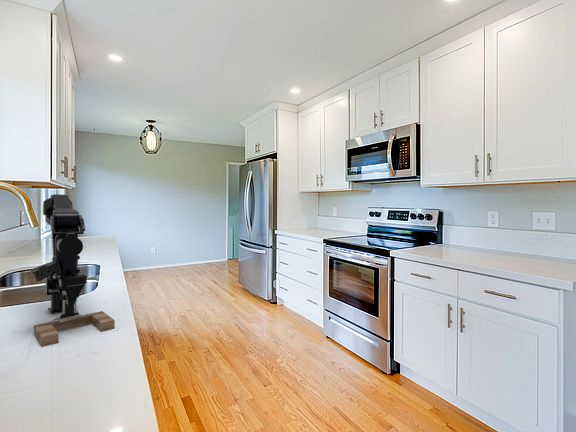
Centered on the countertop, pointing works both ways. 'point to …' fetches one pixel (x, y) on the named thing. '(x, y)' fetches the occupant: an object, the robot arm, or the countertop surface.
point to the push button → (68, 310)
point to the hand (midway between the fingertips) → (67, 303)
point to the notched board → (71, 326)
